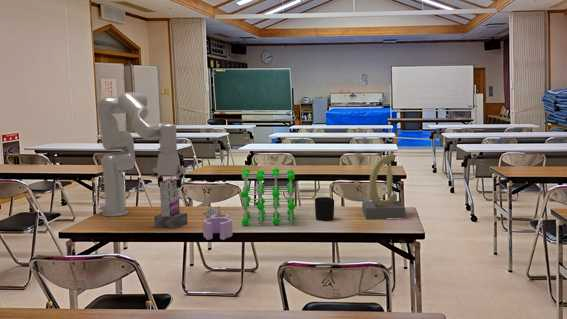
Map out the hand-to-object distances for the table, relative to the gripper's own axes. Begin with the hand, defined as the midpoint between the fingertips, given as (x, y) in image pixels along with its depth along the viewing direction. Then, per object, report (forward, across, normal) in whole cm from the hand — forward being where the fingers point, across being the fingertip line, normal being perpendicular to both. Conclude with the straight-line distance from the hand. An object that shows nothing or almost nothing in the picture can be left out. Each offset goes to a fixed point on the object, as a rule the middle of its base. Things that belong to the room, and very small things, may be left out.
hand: (169, 187), depth 285 cm
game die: (+18, +17, +10) cm, 27 cm away
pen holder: (+18, +65, +33) cm, 75 cm away
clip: (+18, +30, -10) cm, 36 cm away
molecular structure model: (+18, +40, +23) cm, 50 cm away
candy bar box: (+13, 0, 0) cm, 13 cm away
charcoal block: (+18, 0, 0) cm, 18 cm away
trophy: (+18, +90, +50) cm, 105 cm away
